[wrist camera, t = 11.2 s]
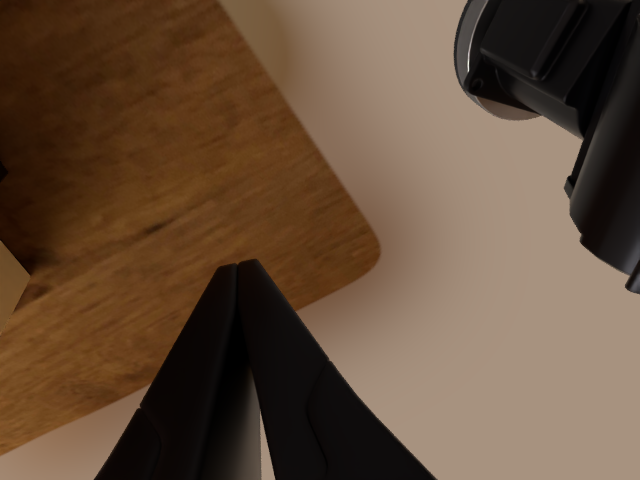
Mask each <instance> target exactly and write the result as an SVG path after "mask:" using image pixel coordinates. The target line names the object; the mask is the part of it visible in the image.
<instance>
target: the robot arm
mask: <svg viewBox="0 0 640 480" xmlns="http://www.w3.org/2000/svg"><path fill="white" fill-rule="evenodd" d="M477 79H478V82H477V84H476V86H474V87H472V84H473V82H474V81H475V80H477ZM463 88H464V89H465V91H467V92H468V93H469V94H471V95H474V96H477V97H481V98H484V99H488V100H491V101H494V102H498V103H501V104H505V105H508V106H511V107H515V108H518V109H522V110H525V111H529V112H532V113H535V114H539V115H542V116H544V117H546V118H548V119H549V120H551V121H552V122H554V123H556V124H557V125H559V126H560V127H562V128H564V129H565V130H567V131H569V132H570V133H572V134H573V135H575V136H577V137H579V138H580V139H582V140H583V142H582V145H581V148H580V151H579V154H578V157H577V160H576V162H575V166H574V168H573V171H572V174H571V175H570V176H568V177H567V180H566V183H565V186H564V190H565V192H566V194H567V195H568V197H569V199H570V216H571V218H572V220H573V222H574V223H575V225H576V227H577V228H578V230H579V232H580V233H581V237H580V243H581V244H582V245H583V246H584V247H585V248H586V249H587V250H589V251H590V252H591V253H592V254H594V255H595V256H596V257H597V258H598V259H600V260H601V261H603V262H605V263H606V264H608V265H610V266H611V267H613V268H615V269H616V270H618V271H620V272H622V273H624V274H627V275H629V276H630V277H629V279H628V281H627V283H626V284H625V288H626V289H627V290H629V291H631V292H633V293H637V294H640V0H502V2H501V4H500V6H499V8H498V10H497V12H496V14H495V16H494V18H493V20H492V22H491V24H490V26H489V28H488V30H487V32H486V34H485V36H484V38H483V40H482V42H481V44H480V49H479V51H478V54H477V56H476V58H475V60H474V62H473V64H472V66H471V68H470V70H469V72H468V74H467V76H466V78H465V80H464V83H463ZM260 411H261V416H262V420H263V424H264V430H265V434H266V439H267V443H268V448H269V452H270V457H271V461H272V466H273V471H274V475H275V480H437V479H436V478H435V477H434V476H433V475H432V474H431V473H430V472H429V471H428V470H427V469H426V468H425V467H424V466H423V465H422V464H421V462H420V461H419V460H418V459H417V458H416V457H415V456H414V455H413V454H412V453H411V452H410V451H409V450H408V449H407V448H406V447H405V446H404V445H403V444H402V443H401V442H400V441H399V440H398V439H397V438H396V437H395V436H394V434H393V433H392V432H391V431H390V430H389V429H388V428H387V427H386V426H385V425H384V424H383V423H382V422H381V421H380V420H379V419H378V418H377V417H376V416H375V415H374V413H373V412H372V411H371V410H370V409H369V408H368V407H367V406H366V405H365V404H364V402H363V401H362V400H361V399H360V398H359V397H358V396H357V394H356V393H355V392H354V391H353V389H352V388H351V387H350V386H349V384H348V383H347V382H346V380H345V379H344V378H343V377H342V375H341V374H340V373H339V371H338V370H337V368H336V367H335V366H334V364H333V363H332V362H331V361H329V358H328V356H327V355H326V354H325V352H324V351H323V350H322V348H321V347H320V345H319V344H318V343H317V341H316V340H315V338H314V337H313V336H312V334H311V333H310V331H309V330H308V329H307V327H306V326H305V325H304V323H303V322H302V321H301V319H300V318H299V316H298V315H297V313H296V312H295V311H294V309H293V308H292V307H291V305H290V304H289V302H288V301H287V300H286V298H285V297H284V295H283V294H282V293H281V291H280V290H279V289H278V287H277V286H276V284H275V283H274V282H273V280H272V279H271V278H270V276H269V275H268V273H267V272H266V271H265V269H264V268H263V266H262V265H261V264H260V262H259V261H258V260H257V259H251V260H246V261H242V262H240V263H239V264H238V265H237V264H236V263H233V264H228V265H224V266H220V267H218V268H217V270H216V271H215V273H214V275H213V277H212V278H211V280H210V282H209V284H208V285H207V287H206V289H205V291H204V292H203V294H202V296H201V298H200V299H199V301H198V303H197V305H196V306H195V308H194V310H193V312H192V314H191V315H190V317H189V319H188V321H187V322H186V324H185V326H184V328H183V329H182V331H181V333H180V335H179V336H178V338H177V340H176V342H175V343H174V345H173V347H172V349H171V350H170V352H169V354H168V356H167V357H166V359H165V361H164V363H163V364H162V366H161V368H160V370H159V372H158V373H157V375H156V377H155V379H154V380H153V382H152V384H151V386H150V387H149V389H148V391H147V393H146V395H145V396H144V398H143V400H142V402H141V403H140V408H138V409H137V410H136V412H135V413H134V415H133V417H132V419H131V420H130V422H129V424H128V426H127V427H126V429H125V431H124V433H123V434H122V436H121V437H120V439H119V441H118V443H117V444H116V446H115V447H114V449H113V451H112V452H111V454H110V456H109V457H108V459H107V461H106V462H105V463H104V465H103V467H102V468H101V470H100V471H99V473H98V474H97V476H96V477H95V479H94V480H261V441H260Z"/></svg>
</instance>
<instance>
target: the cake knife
mask: <svg viewBox="0 0 640 480" xmlns="http://www.w3.org/2000/svg"><path fill="white" fill-rule="evenodd" d="M7 174H8V171H7V170H6V168H5V167H4V165H3V164H2V163H1V161H0V182H1V181H2V180H3V179H4V177H5V176H6V175H7Z"/></svg>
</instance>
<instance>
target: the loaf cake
mask: <svg viewBox="0 0 640 480" xmlns="http://www.w3.org/2000/svg"><path fill="white" fill-rule="evenodd" d="M30 278H31V276H30V275H29V274H28V273H27V271H26V270H25V269H24V268H23V267H22V265H21V264H20V263H19V262H18V261H17V259H16V258H15V257H14V256H13V255H12V253H11V252H10V251H9V250H8V249H7V247H6V246H5V245H4V244H3V243H2V242H1V240H0V336H1V334H2V332H3V330H4V328H5V326H6V324H7V322H8V320H9V319H10V317H11V315H12V313H13V311H14V309H15V307H16V305H17V303H18V301H19V299H20V297H21V295H22V293H23V291H24V289H25V287H26V285H27V283H28V281H29V280H30Z"/></svg>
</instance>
